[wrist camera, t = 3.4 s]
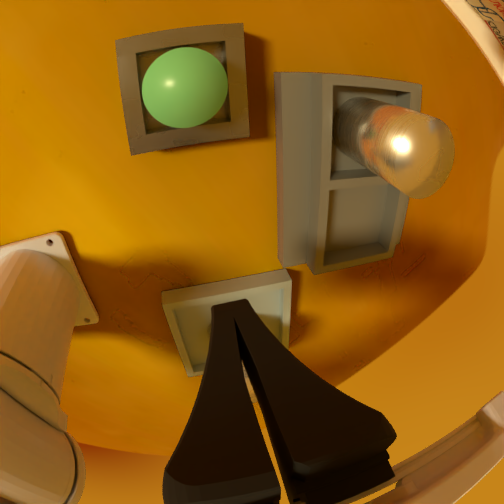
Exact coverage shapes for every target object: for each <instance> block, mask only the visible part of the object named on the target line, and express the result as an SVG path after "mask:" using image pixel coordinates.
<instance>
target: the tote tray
mask: <svg viewBox="0 0 504 504" xmlns="http://www.w3.org/2000/svg"><path fill="white" fill-rule="evenodd" d="M291 292H292V279H291V277H290V276H289V274H288V272H287V270H286V269H281V270H276V271H270V272H265V273H260V274H255V275H250V276H244V277H239V278H234V279H229V280H223V281H218V282H212V283H207V284H201V285H196V286H190V287H185V288H179V289H173V290H168V291H162V307H163V310H164V313H165V316H166V319H167V321H168V324H169V327H170V330H171V333H172V335H173V338H174V341H175V344H176V346H177V349H178V352H179V354H180V357H181V359H182V362H183V364H184V367H185V369H186V372H187V374H188V377H192V376H198V375H203V373H204V369H205V364H206V359H207V355H208V348H209V339H208V333H207V328H208V325H209V323H210V322H211V307H212V306H213V305H217V304H222V303H226V302H231V301H236V300H240V299H247V300H248V301H249V303H250V304H251V306H252V308H253V309H254V311H255V312H256V313H257V315H258V316H259V318H260V319H261V320H262V322H263V323H264V324H265V325H266V327H267V328H268V329H269V330H270V331H271V332H272V333H273V335H274V336H275V337H276V338H277V339H278V340H279V341H280V342H281V343H282V344H283V345H284V346H285V347H286V348H287V349H289V332H290V313H291Z"/></svg>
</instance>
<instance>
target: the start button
mask: <svg viewBox="0 0 504 504" xmlns="http://www.w3.org/2000/svg"><path fill="white" fill-rule="evenodd" d="M227 91H228V80H227V75H226V72H225V70H224V67H223V66H222V64H221V63H220V62H219V61H218V59H217V58H215V57H214V56H213V55H212V54H210V53H208V52H206V51H204V50H201V49H198V48H193V47H183V48H177V49H173V50H170V51H168V52H166V53H164V54H163V55H161V56H160V57H158V58H157V59H156V60H155V61H154V62H153V63H152V64H151V65H150V67H149V68H148V70H147V72H146V74H145V76H144V79H143V83H142V97H143V101H144V104H145V106H146V108H147V110H148V111H149V113H150V114H151V115H152V116H153V117H154V118H155V119H156V120H158V121H159V122H161V123H163V124H165V125H167V126H171V127H175V128H190V127H194V126H197V125H200V124H202V123H204V122H206V121H208V120H209V119H211V118H212V117H213V116H214V115H215V114H216V113H217V112H218V111H219V110H220V108H221V107H222V105H223V103H224V101H225V99H226V95H227Z"/></svg>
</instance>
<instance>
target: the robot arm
mask: <svg viewBox="0 0 504 504" xmlns="http://www.w3.org/2000/svg"><path fill="white" fill-rule="evenodd" d="M48 239H51V240H52V241H53V243H50V242H49V240H48ZM86 318H88V319H86ZM98 321H99V315H98V313H97V311H96V309H95V307H94V305H93V303H92V301H91V299H90V297H89V295H88V293H87V290H86V288H85V286H84V284H83V282H82V280H81V277H80V275H79V273H78V271H77V268H76V266H75V264H74V261H73V259H72V256H71V254H70V252H69V249H68V247H67V244H66V241H65V239H64V237H63V235H62V234H61V233H59V232H53V233H49V234H45V235H41V236H37V237H33V238H29V239H25V240H22V241H18V242H14V243H11V244H7V245H3V246H0V504H77V503H78V502H79V500H80V498H81V496H82V493H83V489H84V485H85V475H86V470H85V462H84V457H83V454H82V452H81V449H80V447H79V445H78V443H77V441H76V440H75V439H74V438H73V436H71V435H70V434H69V433H68V432H67V431H66V429H67V417H68V416H67V415H66V414H65V413H64V412H63V411H62V410H61V408H60V400H61V393H62V386H63V380H64V374H65V368H66V363H67V358H68V353H69V348H70V343H71V338H72V334H73V329H74V326H82V325H89V324H96V323H98ZM242 362H243V365H244V367H245V370H246V373H247V375H248V378H249V380H250V383H251V385H252V388H253V390H254V393H255V395H256V398H257V400H258V403H259V405H260V408H261V411H262V414H263V417H264V420H265V424H266V427H267V430H268V434H269V437H270V440H271V444H272V447H273V450H274V454H275V457H276V460H277V464H278V467H279V470H280V473H281V477H282V480H283V483H284V486H285V490H286V493H287V496H288V500H289V502H290V504H349V503H352V502H354V501H357V500H359V499H361V498H364V497H366V496H368V495H370V494H373V493H375V492H377V491H379V490H381V489H383V488H385V487H387V486H389V485H391V484H393V483H395V482H397V481H398V482H397V483H396V487H395V489H393V490H391V491H389V492H388V493H385V494H383V495H381V496H379V497H377V498H375V499H373V500H371V501H369V502H367V503H365V504H454V503H455V502H457V501H458V500H459V499H460V498H461V497H462V496H464V495H465V494H466V493H467V492H468V491H469V490H470V489H472V488H473V487H474V486H475V485H476V484H477V483H478V482H479V481H480V480H481V479H482V478H483V477H484V476H485V475H487V474H488V473H489V472H490V470H491V469H492V468H494V466H495V465H496V464H497V463H498V462H499V461H500V460H501V459H502V458H503V457H504V392H503V391H501V392H500V393H499V394H497V395H496V396H495V397H494V398H493V399H491V400H490V401H489V402H488V403H487V404H485V405H484V406H483V407H482V408H481V409H480V410H479V411H478V412H477V413H476V415H474V416H473V417H472V418H470V419H469V420H468V421H466V422H465V423H463V424H462V425H461V426H459V427H458V428H456V429H455V430H453V431H452V432H451V433H449V434H448V435H446V436H444V437H443V438H441V439H440V440H438V441H437V442H435V443H433V444H432V445H430V446H429V447H427V448H425V449H424V450H422V451H420V452H418V453H417V454H415V455H413V456H411V457H410V458H408V459H406V460H404V461H402V462H400V463H398V464H397V465H394V466H393V467H391V466H390V464H389V461H388V459H389V454H388V452H387V451H386V449H387V448H388V447H389V446H390V445H391V444H392V443H393V442H394V440H395V439H396V437H397V435H396V433H395V430H394V429H393V427H392V425H391V424H390V423H389V421H388V420H387V419H386V418H385V416H384V415H383V414H382V413H381V412H379V411H377V410H375V409H373V408H371V407H368V406H366V405H364V404H363V403H361V402H359V401H357V400H355V399H353V398H351V397H350V396H348V395H346V394H344V393H343V392H341V391H340V390H338V389H337V388H335V387H334V386H332V385H331V384H329V383H328V382H326V381H325V380H323V379H322V378H320V377H319V376H318V375H316V374H315V373H314V372H313V371H311V370H310V369H309V368H308V367H306V366H305V365H304V364H303V363H302V362H300V361H299V360H298V359H297V358H296V357H295V356H294V355H293V354H292V353H291V352H290V351H289V350H288V349H287V348H286V347H285V346H284V345H283V344H282V343H281V342H280V341H279V340H278V339H277V338H276V337H275V336H274V335H273V333H272V332H271V331H270V330H269V329H268V328H267V327H266V325H265V324H264V323H263V322H262V320H261V319H260V318H259V316H258V315H257V313H256V312H255V311H254V309H253V308H252V306H251V304H250V303H249V301H248V300H247V299H240V300H236V301H231V302H226V303H222V304H217V305H213V306H212V307H211V334H210V341H209V348H208V355H207V359H206V364H205V369H204V373H203V377H202V381H201V385H200V388H199V392H198V395H197V398H196V401H195V404H194V407H193V410H192V412H191V415H190V418H189V420H188V423H187V425H186V427H185V429H184V432H183V434H182V436H181V438H180V441H179V443H178V445H177V447H176V449H175V451H174V452H173V454H172V456H171V458H170V460H169V462H168V464H167V465H166V467H165V471H164V477H163V500H164V504H279V500H280V498H281V487H280V484H279V481H278V478H277V475H276V472H275V469H274V467H273V464H272V461H271V458H270V455H269V452H268V450H267V447H266V444H265V441H264V438H263V435H262V432H261V429H260V426H259V423H258V420H257V417H256V414H255V410H254V407H253V404H252V401H251V398H250V394H249V391H248V388H247V384H246V381H245V378H244V372H243V366H242Z"/></svg>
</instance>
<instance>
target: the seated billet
mask: <svg viewBox="0 0 504 504" xmlns="http://www.w3.org/2000/svg"><path fill="white" fill-rule="evenodd" d="M332 137H333V141H334V143H335V145H336V147H337V148H338V150H339V151H340V152H341V153H342V154H344V155H345V156H347V157H349V158H350V159H352V160H354V161H355V162H357V163H358V164H360V165H362V166H363V167H365V168H367V169H368V170H370V171H371V172H373V173H374V174H376V175H378V176H379V177H381V178H382V179H384V180H385V181H387V182H388V183H390V184H391V185H393V186H394V187H396V188H397V189H399V190H400V191H402V192H403V193H404V194H406V195H407V196H409V197H411V198H415V199H422V198H426V197H428V196H430V195H432V194H434V193H435V192H436V191H437V190H438V189H439V188H440V187H441V186H442V185H443V184H444V182H445V181H446V179H447V177H448V175H449V173H450V171H451V168H452V165H453V161H454V150H455V149H454V140H453V136H452V134H451V131H450V130H449V128H448V127H447V125H446V124H445V123H444V122H443V121H441V120H440V119H437V118H435V117H432V116H429V115H426V114H423V113H420V112H417V111H413V110H410V109H407V108H404V107H400V106H397V105H393V104H390V103H386V102H382V101H379V100H375V99H371V98H367V97H354V98H351V99H349V100H347V101H345V102H344V103H343V104H342V105H341V106H340V107H339V108H338V110H337V111H336V113H335V115H334V118H333V122H332Z"/></svg>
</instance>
